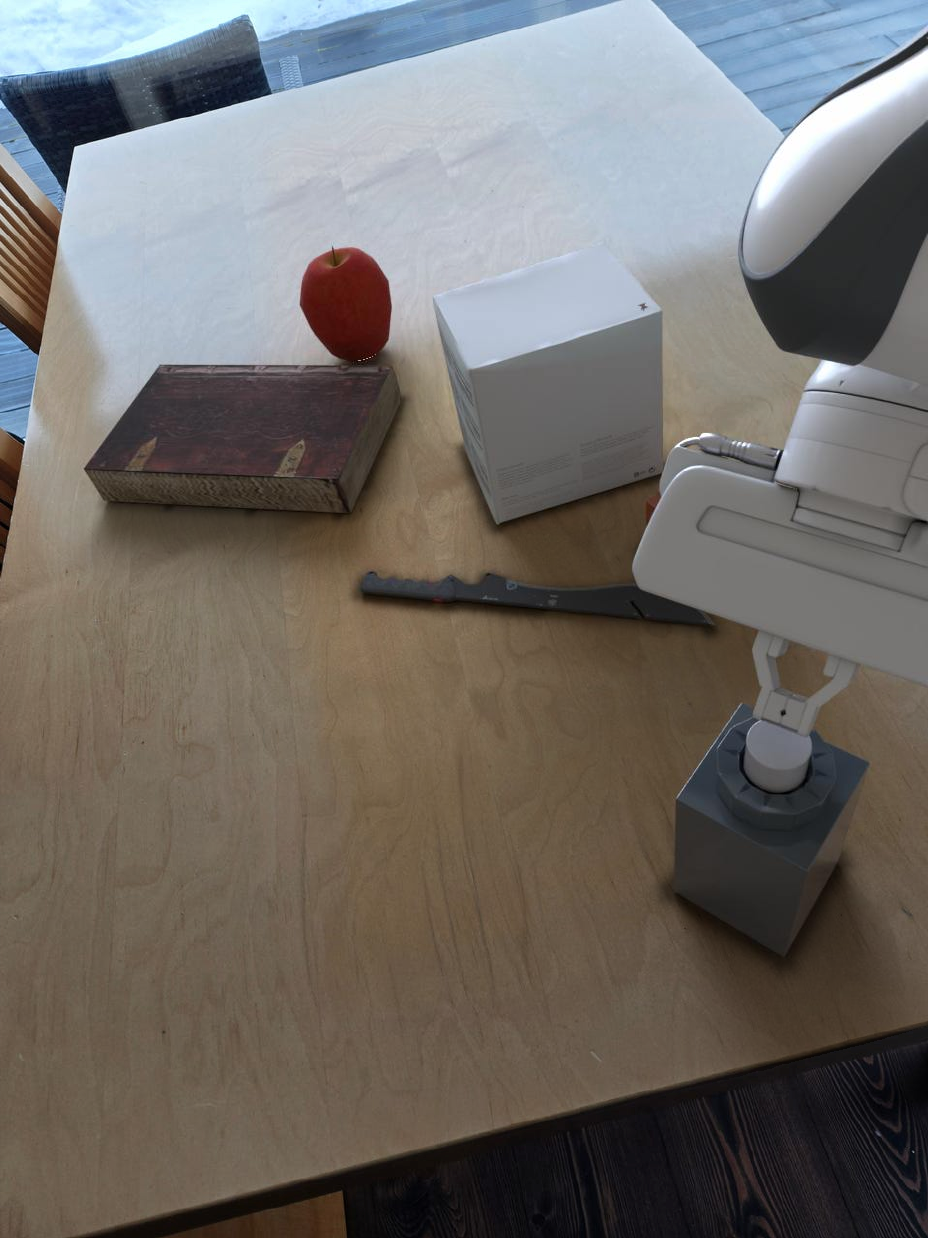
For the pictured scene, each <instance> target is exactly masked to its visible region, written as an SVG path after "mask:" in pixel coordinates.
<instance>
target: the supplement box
mask: <svg viewBox="0 0 928 1238" xmlns="http://www.w3.org/2000/svg"><path fill="white" fill-rule="evenodd" d="M432 304H433V305H432V306H433V309H434V314H435V319H436V323H437V328H438V332H439V337H440V338H439V339H440V342H441V347H442V351H443V355H444V360H445V365H446V369H447V375H448V377H449V382H450V387H451V391H452V396H453V401H454V404H455V409H456V413H457V414H456V415H457V418H458V423H459V428H460V432H461V435H462V441H463V446H464V451H465V453H466V456H467V458H468V461H469V463H470V465H471V467H472V470H473V473H474V475H475V478H476V480H477V482H478V484H479V487H480V490H481V491H482V494H483V496H484V498H485V501H486V504H487V505H488V508H489V510H490V513H491V515H492V517H493V520H494V522H495V524H496V525H500V524H501V523H504V522H507V521H511V520H514V519H517V518H521V517H524V516H528V515H531V514H534V513H537V512H540V511H543V510H547V509H550V508H554V507H557V506H560V505H563V504H567V503H570V502H574V501H577V500H580V499H583V498H587V497H589V496H592V495H596V494H599V493H602V492H605V491H609V490H613V489H615V488H618V487H622V486H625V485H629V484H632V483H635V482H639V481H641V480H644V479H648V478H651V477H654V476H657V475H660V474H661V475H662V473H663V470H664V402H663V401H664V395H663V393H664V390H663V389H664V386H663V385H664V381H663V378H664V376H663V374H664V373H663V372H664V371H663V368H664V367H663V309H661V307H660V305H658V304H657V303H656V302H655V301H654V299H653V298H652V297H651V295H649V293H648V292H647V290H645V288H644V287H643V286H642V284H641V283H640V282H639V280H638V279H637V278H636V277H635V276H634V274H632V272H631V271H630V270H629V269H628V267H627V266H626V265H625V264H624V263H623V261H622V260H621V259H620V258H619V257H618V256H617V254H616V253H615V252H614V251H613V250H612V248H611V247H610V246H609V245H608V243H606V241H601V242H599V243H596V244H593V245H590V246H586V247H584V248H581V249H578V250H574V251H572V252H569V253H566V254H563V255H560V256H556V257H553V258H550V259H546V260H544V261H540V262H537V263H534V264H531V265H527V266H524V267H521V268H518V269H515V270H512V271H509V272H506V273H503V274H499V275H496V276H493V277H489V278H486V279H482V280H480V281H477V282H474V283H470V284H467V285H463V286H460V287H457V288H454V289H451V290H447V291H444V292H441V293H437V294H434V295H433V296H432Z"/></svg>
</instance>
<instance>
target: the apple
mask: <svg viewBox="0 0 928 1238" xmlns="http://www.w3.org/2000/svg"><path fill="white" fill-rule="evenodd" d="M390 289H391V287H390V281H389V279H388V278H387V276H386V274H385V273H384V271H383V269H381V267H380V265H379V263H378V262H377V261H376V260H375V258H374V257H373V256H372V255H370V254H368V253H367V252H365V251H363V250H362V249H361V248H358V247H353V246H351V247H350V246H349V247H340V248H334V246H333V245H331V249H330V250H328V251H327V252H324V253H322V254H320V255H318V256H316V257H315V258H314V259H312V261H310V262H309V264H308V265H307V267H306V269H305V271H304V273H303V275H302V279H301V285H300V293H299V294H300V295H299V307H300V309H301V312H302V314H303V315H304V317H305V320H306V322H307V324H308V326H309V328H310V330H311V331H312V332H313V334H314V336H315V337H316V338H317V339H318V340H319V342H320V343H321V344H322V345H323V346H324V347H325V349H326V350H327V351H328V352H329V353H330V355H331V356H333V357H335V358H337V359H339V360H341V361H344V360H346V361H345V362H348V363H350V364H364V363H367V362H370V361H372V360H374V359H375V358H376V357H377V356H378V355H379V354H380V353H381V352H382V351H383V349H384V348H385V346H386V345H387V343H388V342H389V338H390V329H391V320H392V310H393V304H392V297H391V290H390ZM375 354H376V355H375ZM372 356H373V357H372ZM369 357H371V358H369ZM366 358H368V359H366ZM363 359H365V360H363ZM358 360H361V361H358Z"/></svg>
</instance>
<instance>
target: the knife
mask: <svg viewBox="0 0 928 1238" xmlns="http://www.w3.org/2000/svg"><path fill="white" fill-rule="evenodd" d="M359 590H360V592H361V593H363V594H368V595H379V596H387V597H398V598H407V599H417V600H426V601H433V602H439V603H440V602H441V603H443V602H446V603H451V602H453V601H464V602H473V603H483V604H492V605H503V606H512V607H514V606H515V607H522V608H531V609H532V608H533V609H541V610H553V611H561V612H570V613H571V612H572V613H580V614H590V615H591V614H592V615H601V616H611V617H618V618H619V617H620V618H630V619H638V620H639V619H641V615H642V617H643V618H644V619H645V620H648V621H649V620H651V621H658V622H659V621H661V622H667V623H668V622H670V623H680V624H690V625H699V626H710V627H711V626H716V624H715V623H714V621H713V620H712V619H711V617H709V616H708V614H707V612H705V611H702V610H699V609H696V608H693V607H690V606H687V605H684V604H681V603H678V602H675V601H672V600H669V599H667V598H664V597H661V596H658V595H655V594H652V593H649V592H646V591H643V590H641V589H640V588H639V587H638V585H637V583H617V584H608V585H601V586H592V587H553V586H552V587H551V586H542V585H541V586H540V585H533V584H527V583H522V582H518V581H515V580H510V579H507V578H506V577H504V576H500V575H497V574H494V573H491V572H486V573H485V574H484V576H483V578H482V579H481V580H480V581H479V582H476V583H470V584H469V583H464V581H462V580H460V579H459V578H458V577H457V576H455V575H453V574H451V573H450V574H449V575H447V576H446V577H445V578H443V579H442V580H440V581H439V580H438V581H435V582H433V581H432V582H431V581H429V580H428V579H422V580H418V581H416V580H415V581H414V580H413V579H410V578H404V579H397V578H395V577H394V576H389V577H386V578H381V577H380V576H378V571H374V570H369V571H367V572H366V573H365V574H364V576H363V579H362V581H361V582H360V585H359ZM632 603H633V604H632ZM633 605H634V606H635V608H634V606H633ZM636 608H637V610H638V611H639V612H640V614H641V615H640V614H639V612H638V611H637V610H636Z"/></svg>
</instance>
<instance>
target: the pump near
mask: <svg viewBox="0 0 928 1238" xmlns="http://www.w3.org/2000/svg"><path fill="white" fill-rule="evenodd" d="M811 752H812V741H811V738H810V736H809V735H808V736H807V737H806V738H805V737H803V736H800V735H798V734H795V733H792V732H790V731H787V730H785V729H782V728H780V727H778V726H775V725H772V724H770V723H767V722H764V721H762V720H760V721H758V722H757V723H755V724H754V725H753V726H752V727H751V728H750V730H749V732H748V734H747V738H746V746H745V754H744V770H745V773H746V775H747V776H748V778H749V779H750V780H751V782H753V783H754V784H755V785H756V786H757V787H759V788H761V789H763V790H766V791H769V792H774V793H783V792H788V791H791V790H793V789H795V788H797V787H798V786H799V785H800V784H801V783H802V782H803V781H804V779H805V777H806V774H807V769H808V765H809V761H810V756H811Z"/></svg>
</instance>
